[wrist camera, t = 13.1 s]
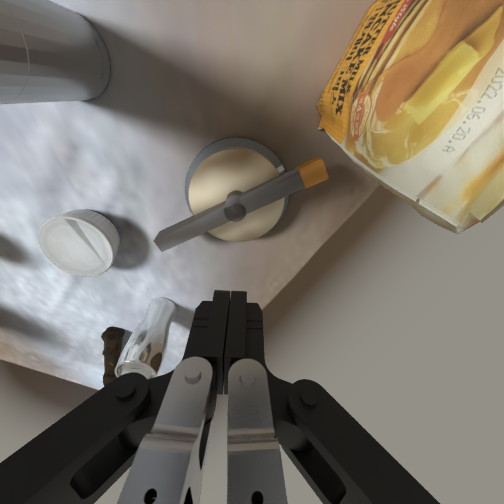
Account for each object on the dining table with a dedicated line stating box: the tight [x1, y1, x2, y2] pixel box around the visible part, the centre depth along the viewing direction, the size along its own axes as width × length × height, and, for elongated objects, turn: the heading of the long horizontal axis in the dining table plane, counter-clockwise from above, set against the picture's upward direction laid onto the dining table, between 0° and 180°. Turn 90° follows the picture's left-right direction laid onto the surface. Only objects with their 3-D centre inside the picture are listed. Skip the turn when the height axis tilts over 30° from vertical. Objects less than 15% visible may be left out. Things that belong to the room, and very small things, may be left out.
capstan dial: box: [154, 147, 329, 252], centre depth 37 cm, size 14×25×6 cm, turn 116°
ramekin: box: [38, 209, 120, 276], centre depth 43 cm, size 11×11×5 cm
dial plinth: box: [185, 137, 289, 231], centre depth 41 cm, size 16×16×2 cm
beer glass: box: [115, 298, 177, 379], centre depth 48 cm, size 7×7×15 cm
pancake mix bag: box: [316, 0, 504, 234], centre depth 21 cm, size 7×19×28 cm, turn 153°
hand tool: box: [101, 327, 125, 387], centre depth 61 cm, size 19×4×5 cm, turn 161°
